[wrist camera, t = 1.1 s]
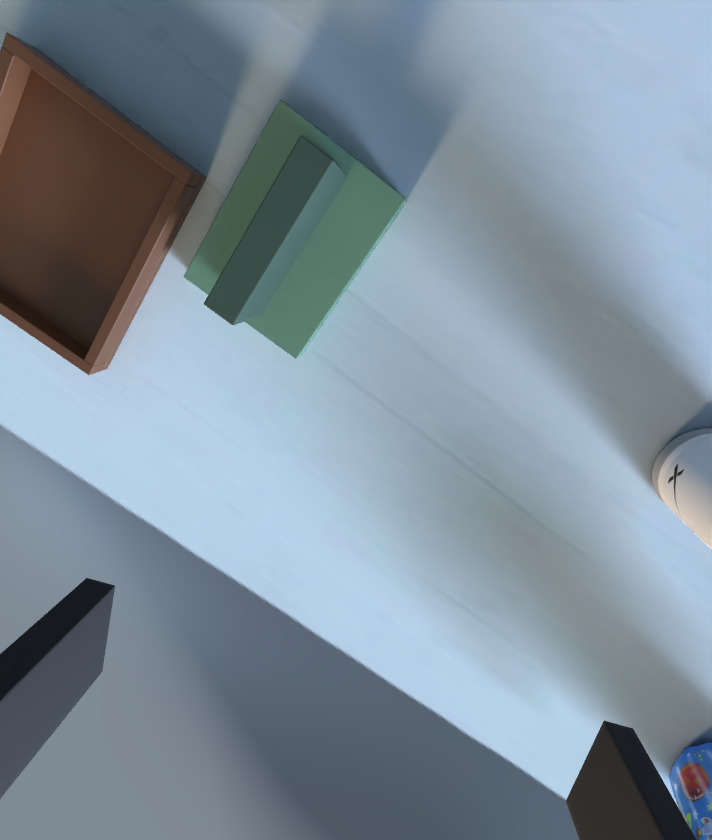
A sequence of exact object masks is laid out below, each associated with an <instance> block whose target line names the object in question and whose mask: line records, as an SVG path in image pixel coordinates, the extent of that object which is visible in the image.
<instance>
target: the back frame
mask: <svg viewBox="0 0 712 840" xmlns="http://www.w3.org/2000/svg"><path fill="white" fill-rule="evenodd" d="M205 179H206V177H205V176H204V175H202V174H201V173H200V172H198V171H197V170H196V169H194V168H193V167H192V166H190V165H189V164H188V163H186V162H185V161H184V160H182V159H181V158H180V157H179V156H177V155H176V154H175V153H173V152H172V151H171V150H169V149H168V148H167V147H165V146H164V145H163V144H161V143H160V142H159V141H157V140H156V139H155V138H153V137H152V136H151V135H150V134H148V133H147V132H146V131H144V130H143V129H142V128H140V127H139V126H138V125H136V124H135V123H134V122H132V121H131V120H130V119H128V118H127V117H126V116H124V115H123V114H122V113H120V112H119V111H118V110H117V109H115V108H114V107H113V106H111V105H110V104H109V103H107V102H106V101H105V100H103V99H102V98H101V97H99V96H98V95H97V94H95V93H94V92H93V91H91V90H90V89H89V88H87V87H86V86H85V85H84V84H82V83H81V82H80V81H78V80H77V79H76V78H74V77H73V76H72V75H70V74H69V73H68V72H66V71H65V70H64V69H62V68H61V67H60V66H58V65H57V64H56V63H55V62H53V61H52V60H51V59H49V58H48V57H47V56H45V55H44V54H43V53H41V52H40V51H39V50H37V49H36V48H35V47H33V46H31V45H29V44H27V43H26V42H24V41H22V40H20V39H18V38H16V37H15V36H13V35H11V34H9V33H6V36H5V39H4V42H3V47H2V48H1V51H0V314H1V315H2V316H4V317H5V318H7V319H8V320H10V321H11V322H13V323H14V324H15V325H17V326H18V327H20V328H21V329H23V330H24V331H26V332H27V333H28V334H30V335H31V336H33V337H34V338H36V339H37V340H39V341H40V342H42V343H43V344H44V345H46V346H47V347H49V348H50V349H52V350H53V351H55V352H56V353H57V354H59V355H60V356H62V357H63V358H65V359H66V360H68V361H69V362H71V363H72V364H73V365H75V366H76V367H78V368H79V369H81V370H82V371H84V372H85V373H86V374H88V375H91V374H94V373H96V372H99V371H102V370H105V369H107V368H108V366H109V364H110V362H111V360H112V358H113V356H114V354H115V352H116V350H117V348H118V347H119V345H120V343H121V341H122V339H123V337H124V335H125V333H126V331H127V329H128V327H129V325H130V324H131V322H132V320H133V318H134V316H135V314H136V312H137V310H138V308H139V306H140V304H141V302H142V300H143V299H144V297H145V295H146V293H147V291H148V289H149V287H150V285H151V283H152V281H153V279H154V277H155V276H156V274H157V272H158V270H159V268H160V266H161V264H162V262H163V260H164V258H165V256H166V254H167V252H168V251H169V249H170V247H171V245H172V243H173V241H174V239H175V237H176V235H177V233H178V231H179V229H180V227H181V226H182V224H183V222H184V220H185V218H186V216H187V214H188V212H189V210H190V208H191V206H192V204H193V203H194V201H195V199H196V197H197V195H198V193H199V191H200V189H201V187H202V185H203V183H204V181H205Z"/></svg>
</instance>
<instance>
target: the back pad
mask: <svg viewBox="0 0 712 840" xmlns="http://www.w3.org/2000/svg"><path fill="white" fill-rule="evenodd" d="M405 203H406V198H405V197H404V196H402V195H401V194H400V193H399V192H397V191H396V190H395V189H394V188H392V187H391V186H390V185H388V184H387V183H386V182H385V181H383V180H382V179H381V178H380V177H378V176H377V175H376V174H375V173H373V172H372V171H371V170H370V169H368V168H367V167H366V166H364V165H363V164H362V163H361V162H359V161H358V160H357V159H356V158H354V157H353V156H352V155H351V154H349V153H348V152H347V151H346V150H344V149H343V148H342V147H340V146H339V145H338V144H337V143H335V142H334V141H333V140H332V139H330V138H329V137H328V136H327V135H325V134H324V133H323V132H322V131H320V130H319V129H318V128H316V127H315V126H314V125H313V124H311V123H310V122H309V121H308V120H306V119H305V118H304V117H303V116H301V115H300V114H299V113H297V112H296V111H295V110H294V109H292V108H291V107H290V106H289V105H287V104H286V103H285V102H284V101H282V100H280V101H279V103H278V104H277V106H276V108H275V110H274V112H273V114H272V115H271V117H270V119H269V121H268V123H267V125H266V126H265V128H264V130H263V132H262V134H261V136H260V137H259V139H258V141H257V143H256V145H255V147H254V149H253V150H252V152H251V154H250V156H249V158H248V160H247V161H246V163H245V165H244V167H243V169H242V171H241V172H240V174H239V176H238V178H237V180H236V182H235V183H234V185H233V187H232V189H231V191H230V193H229V194H228V196H227V198H226V200H225V202H224V204H223V205H222V207H221V209H220V211H219V213H218V215H217V216H216V218H215V220H214V222H213V224H212V226H211V227H210V229H209V231H208V233H207V235H206V237H205V238H204V240H203V242H202V244H201V246H200V248H199V250H198V251H197V253H196V255H195V257H194V259H193V261H192V262H191V264H190V266H189V268H188V270H187V272H186V273H185V275H184V278H186V279H187V280H189V281H190V282H191V283H193V284H194V285H195V286H197V287H198V288H200V289H201V290H202V291H204V292H205V293H206V294H208V295H209V296H208V297H207V299H206V301H205V303H204V305H205V306H207V307H208V308H210V309H211V310H212V311H214V312H215V313H216V314H218V315H219V316H221V317H222V318H223V319H225V320H226V321H227V322H229V323H230V324H232V325H235V324H238V323H241V322H243V321H245V322H246V323H247V324H249V325H250V326H252V327H253V328H254V329H256V330H257V331H258V332H260V333H261V334H263V335H264V336H265V337H267V338H268V339H269V340H271V341H272V342H274V343H275V344H276V345H278V346H279V347H280V348H282V349H283V350H284V351H286V352H287V353H289V354H290V355H291V356H293V357H294V358H295V359H297V358H298V357H299V356H300V355H301V354H302V353H303V352H304V350H305V349H306V347H307V346H308V344H309V343H310V341H311V340H312V338H313V337H314V335H315V334H316V333H317V331H318V330H319V328H320V327H321V325H322V324H323V322H324V321H325V319H326V318H327V317H328V315H329V314H330V312H331V311H332V309H333V308H334V306H335V305H336V303H337V302H338V300H339V299H340V298H341V296H342V295H343V293H344V292H345V290H346V289H347V287H348V286H349V284H350V283H351V282H352V280H353V279H354V277H355V276H356V274H357V273H358V271H359V270H360V268H361V267H362V266H363V264H364V263H365V261H366V260H367V258H368V257H369V255H370V254H371V252H372V251H373V249H374V248H375V247H376V245H377V244H378V242H379V241H380V239H381V238H382V236H383V235H384V233H385V232H386V231H387V229H388V228H389V226H390V225H391V223H392V222H393V220H394V219H395V217H396V216H397V214H398V213H399V212H400V210H401V209H402V207H403V206H404V204H405Z"/></svg>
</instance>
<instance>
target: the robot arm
mask: <svg viewBox="0 0 712 840" xmlns="http://www.w3.org/2000/svg"><path fill="white" fill-rule="evenodd" d="M114 588H115V586H114V585H110V584H107V583H103V582H99V581H96V580H92V579H88V578H86V579H85V580H84V581H83V582H82V583H81V584H79V585H78V586H77V587H76V588H75V589H74V590H73V591H72V592H70V593H69V594H68V595H67V596H66V597H65V598H64V599H62V600H61V601H60V602H59V603H58V604H57V605H56V606H55V607H53V608H52V609H51V610H50V611H49V612H48V613H47V614H45V615H44V616H43V617H42V618H41V619H40V620H39V621H37V622H36V623H35V624H34V625H33V626H32V627H31V628H30V629H28V630H27V631H26V632H25V633H24V634H23V635H22V636H20V637H19V638H18V639H17V640H16V641H15V642H14V643H13V644H11V645H10V646H9V647H8V648H7V649H6V650H5V651H3V652H2V653H1V654H0V798H1V797H2V796H3V795H4V793H5V792H6V791H7V790H8V788H9V787H10V786H11V785H12V783H13V782H14V781H15V779H16V778H17V777H18V776H19V774H20V773H21V772H22V771H23V769H24V768H25V767H26V766H27V765H28V763H29V762H30V761H31V760H32V758H33V757H34V756H35V755H36V753H37V752H38V751H39V750H40V748H41V747H42V746H43V744H44V743H45V742H46V741H47V740H48V738H49V737H50V736H51V735H52V734H53V732H54V731H55V730H56V729H57V727H58V726H59V725H60V724H61V722H62V721H63V720H64V719H65V717H66V716H67V715H68V713H69V712H70V711H71V709H72V708H73V707H74V706H75V705H76V703H77V702H78V701H79V700H80V698H81V697H82V696H83V695H84V693H85V692H86V691H87V690H88V689H89V687H90V686H91V685H92V684H93V682H94V681H95V680H96V679H97V677H98V676H99V675H100V673H101V672H102V669H103V662H104V655H105V649H106V642H107V635H108V628H109V621H110V615H111V608H112V602H113V595H114ZM566 802H567V805H568V808H569V811H570V813H571V816H572V819H573V822H574V825H575V827H576V830H577V833H578V836H579V839H580V840H696V838H695V836H694V834H693V833H692V831H691V829H690V827H689V826H688V824H687V822H686V820H685V819H684V817H683V815H682V813H681V812H680V810H679V808H678V806H677V805H676V803H675V801H674V799H673V798H672V796H671V794H670V793H669V791H668V789H667V787H666V786H665V784H664V782H663V780H662V779H661V777H660V775H659V773H658V772H657V770H656V768H655V766H654V765H653V763H652V761H651V759H650V758H649V756H648V754H647V752H646V751H645V749H644V747H643V745H642V744H641V742H640V740H639V738H638V737H637V735H636V733H635V731H634V730H633V729H632V728H629V727H625V726H621V725H618V724H614V723H611V722H607V721H604V722H603V724H602V726H601V728H600V730H599V732H598V734H597V737H596V739H595V741H594V743H593V745H592V747H591V749H590V751H589V753H588V756H587V758H586V760H585V762H584V764H583V766H582V768H581V770H580V772H579V775H578V777H577V779H576V781H575V783H574V785H573V787H572V789H571V791H570V794H569V796H568V798H567V800H566Z"/></svg>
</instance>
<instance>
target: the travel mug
mask: <svg viewBox="0 0 712 840" xmlns="http://www.w3.org/2000/svg"><path fill="white" fill-rule="evenodd" d="M652 484H653V487H654V490H655V492H656V494H657V495H658V497H659V498H660V499H661V500H662V501H663V502H664V503H665V504H666V505H667V506H668V507H669V508H670V509H671V510H672V511H673V512H674V513H675V514H676V515H677V516H678V517H679V518H680V519H681V520H682V521H683V522H684V523H685V524H686V525H687V526H688V527H689V528H690V529H691V530H692V531H693V532H694V533H695V534H696V535H697V536H698V537H699V538H700V539H701V540H702V541H703V542H704V543H705V544H706V545H707V546H708V547H709V548H710V549H711V550H712V428H702V429H697V430H693V431H690V432H687V433H684V434H682V435H680V436H679V437H677V438H675V439H674V440H672V441H671V442H670V443H668V444H667V445H666V446H665V447H664V448H663V449H662V451H661V452H660V453H659V455H658V457H657V458H656V460H655V463H654V465H653V469H652Z"/></svg>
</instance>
